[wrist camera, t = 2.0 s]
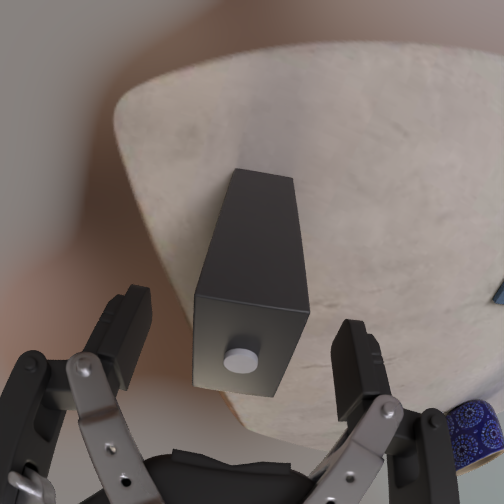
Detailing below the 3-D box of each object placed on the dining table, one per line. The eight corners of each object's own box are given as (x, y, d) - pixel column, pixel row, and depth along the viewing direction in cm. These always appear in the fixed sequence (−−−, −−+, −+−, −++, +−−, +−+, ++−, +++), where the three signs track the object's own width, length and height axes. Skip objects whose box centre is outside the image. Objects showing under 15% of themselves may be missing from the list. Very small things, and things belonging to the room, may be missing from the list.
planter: (482, 410, 38) (496, 459, 29) (431, 430, 41) (441, 482, 32) (496, 384, 33) (516, 441, 23) (438, 408, 36) (452, 471, 26)
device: (235, 167, 18) (191, 301, 9) (293, 177, 18) (312, 319, 9) (224, 243, 21) (190, 392, 12) (275, 252, 21) (273, 404, 12)
